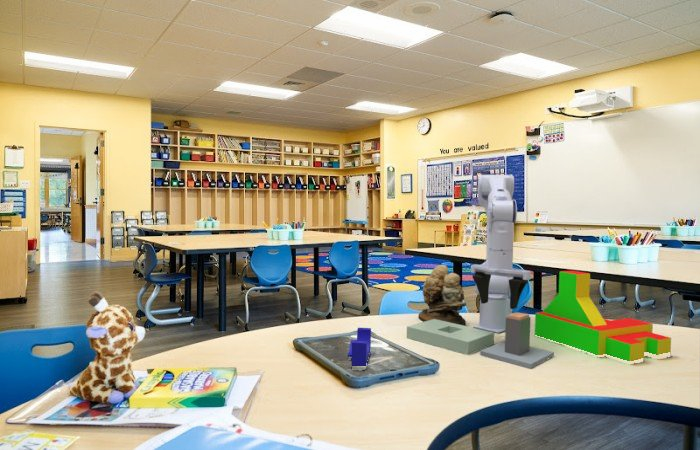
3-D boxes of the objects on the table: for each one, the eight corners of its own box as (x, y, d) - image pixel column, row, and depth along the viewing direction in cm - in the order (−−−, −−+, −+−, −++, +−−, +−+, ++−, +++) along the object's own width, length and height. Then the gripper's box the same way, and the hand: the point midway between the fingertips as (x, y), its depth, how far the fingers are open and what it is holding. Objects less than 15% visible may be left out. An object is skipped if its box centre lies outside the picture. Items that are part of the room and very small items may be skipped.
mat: (505, 344, 117) (505, 340, 117) (553, 356, 108) (554, 352, 108) (480, 355, 109) (480, 350, 108) (530, 368, 100) (531, 364, 100)
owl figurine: (478, 326, 134) (480, 267, 133) (446, 331, 129) (447, 270, 128) (439, 312, 150) (440, 259, 149) (408, 316, 145) (409, 261, 144)
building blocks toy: (622, 367, 103) (626, 284, 102) (534, 337, 125) (537, 269, 124) (676, 357, 110) (680, 280, 109) (584, 330, 133) (587, 266, 132)
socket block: (433, 329, 130) (434, 318, 130) (493, 344, 117) (494, 332, 117) (406, 337, 121) (406, 326, 121) (467, 354, 109) (468, 342, 108)
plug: (514, 347, 111) (516, 311, 111) (529, 351, 109) (530, 314, 108) (504, 352, 108) (505, 315, 107) (519, 355, 105) (520, 317, 105)
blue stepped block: (351, 352, 109) (351, 327, 109) (370, 353, 109) (371, 328, 109) (344, 370, 98) (344, 342, 97) (365, 372, 97) (366, 343, 97)
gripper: (465, 248, 116) (463, 302, 117) (522, 253, 106) (519, 313, 106) (479, 246, 121) (478, 298, 122) (535, 251, 111) (533, 308, 111)
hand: (498, 305), depth 114 cm, fingers open, 7 cm apart
